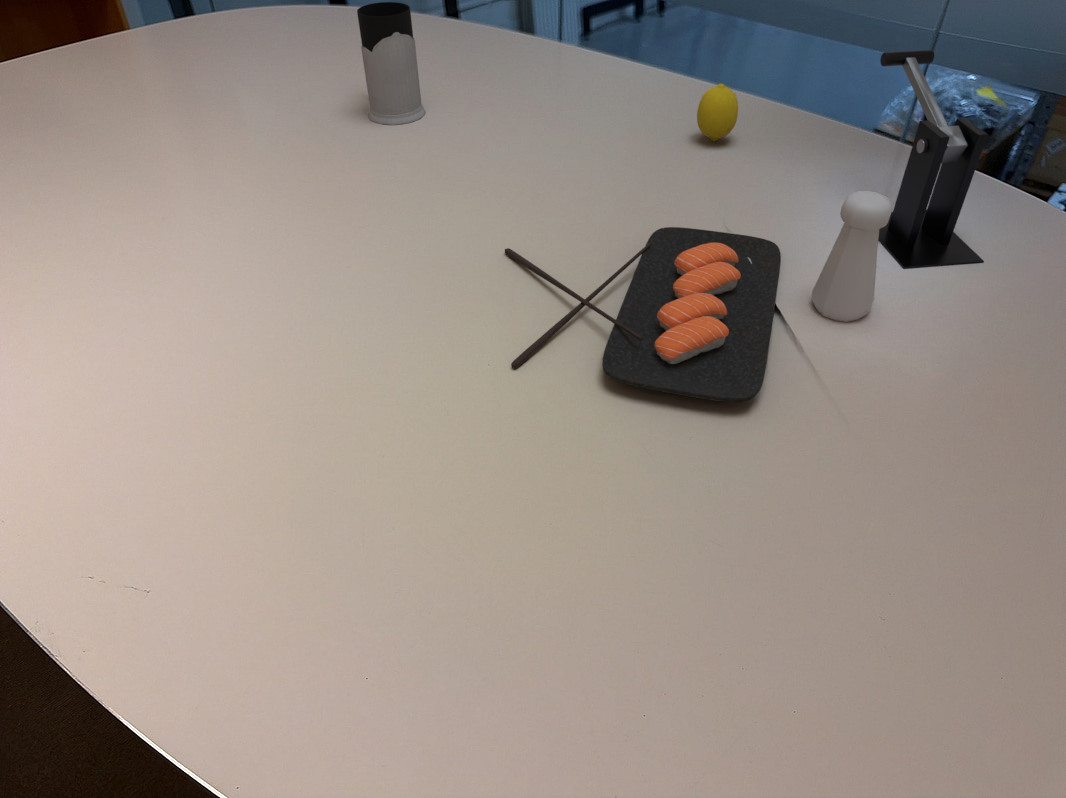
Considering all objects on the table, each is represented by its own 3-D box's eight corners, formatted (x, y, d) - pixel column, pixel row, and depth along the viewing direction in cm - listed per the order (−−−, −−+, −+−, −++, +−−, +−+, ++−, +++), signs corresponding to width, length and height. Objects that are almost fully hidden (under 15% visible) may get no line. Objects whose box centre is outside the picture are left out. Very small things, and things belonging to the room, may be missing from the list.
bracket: (854, 224, 96) (885, 108, 87) (926, 218, 97) (964, 103, 88) (900, 277, 87) (940, 154, 78) (980, 271, 87) (1029, 148, 79)
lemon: (741, 142, 114) (750, 85, 109) (713, 152, 112) (720, 94, 107) (714, 130, 118) (721, 74, 113) (685, 139, 115) (692, 82, 110)
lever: (877, 63, 91) (885, 45, 89) (923, 61, 91) (933, 43, 89) (921, 164, 84) (932, 147, 82) (972, 161, 85) (984, 144, 82)
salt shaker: (802, 300, 84) (829, 182, 75) (858, 300, 84) (892, 182, 75) (815, 333, 79) (846, 212, 71) (874, 333, 79) (912, 212, 71)
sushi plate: (757, 422, 70) (764, 387, 67) (433, 363, 77) (429, 330, 74) (780, 254, 91) (787, 224, 88) (525, 221, 98) (524, 191, 95)
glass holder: (381, 129, 120) (365, 21, 110) (347, 99, 130) (330, -2, 120) (434, 117, 123) (424, 11, 114) (398, 89, 133) (386, -11, 123)
